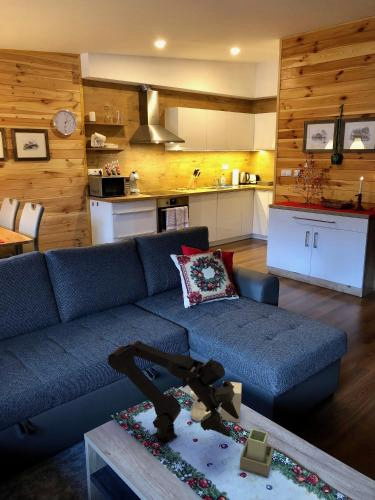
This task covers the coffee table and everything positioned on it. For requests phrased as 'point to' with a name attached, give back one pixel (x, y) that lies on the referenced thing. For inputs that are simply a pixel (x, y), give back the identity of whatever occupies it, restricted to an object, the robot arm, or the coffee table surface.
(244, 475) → the coffee table surface
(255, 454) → the beige open box
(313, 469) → the coffee table surface
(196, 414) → the seated beast figurine
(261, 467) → the box
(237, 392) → the supplement box
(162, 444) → the robot arm
